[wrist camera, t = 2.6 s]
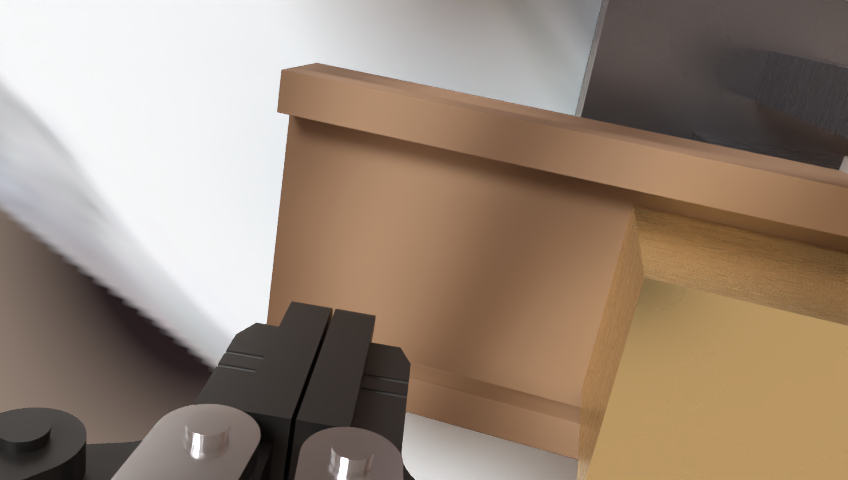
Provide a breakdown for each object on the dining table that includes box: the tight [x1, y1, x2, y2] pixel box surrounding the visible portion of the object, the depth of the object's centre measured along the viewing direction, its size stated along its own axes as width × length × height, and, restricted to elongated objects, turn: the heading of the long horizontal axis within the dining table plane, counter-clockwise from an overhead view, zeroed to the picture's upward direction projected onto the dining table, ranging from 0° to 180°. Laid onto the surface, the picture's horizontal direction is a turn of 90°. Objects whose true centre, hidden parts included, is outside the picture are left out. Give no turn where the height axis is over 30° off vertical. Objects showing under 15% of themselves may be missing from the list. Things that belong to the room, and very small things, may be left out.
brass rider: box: [577, 204, 848, 480], centre depth 15 cm, size 7×5×5 cm
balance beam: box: [266, 63, 848, 460], centre depth 19 cm, size 28×9×5 cm, turn 80°
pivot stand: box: [575, 0, 848, 170], centre depth 21 cm, size 12×16×8 cm
